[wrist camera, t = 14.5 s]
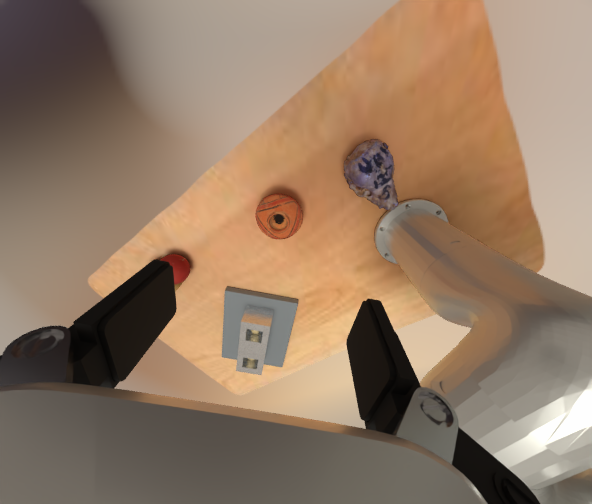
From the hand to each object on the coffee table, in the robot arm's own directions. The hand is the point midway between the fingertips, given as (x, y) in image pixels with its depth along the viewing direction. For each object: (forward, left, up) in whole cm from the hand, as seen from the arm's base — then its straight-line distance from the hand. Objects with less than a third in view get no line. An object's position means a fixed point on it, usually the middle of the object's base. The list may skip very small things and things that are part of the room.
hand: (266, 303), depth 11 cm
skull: (-12, -4, -31) cm, 33 cm away
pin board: (+3, +35, -30) cm, 46 cm away
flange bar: (+3, +35, -29) cm, 45 cm away
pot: (+2, +5, -31) cm, 31 cm away
